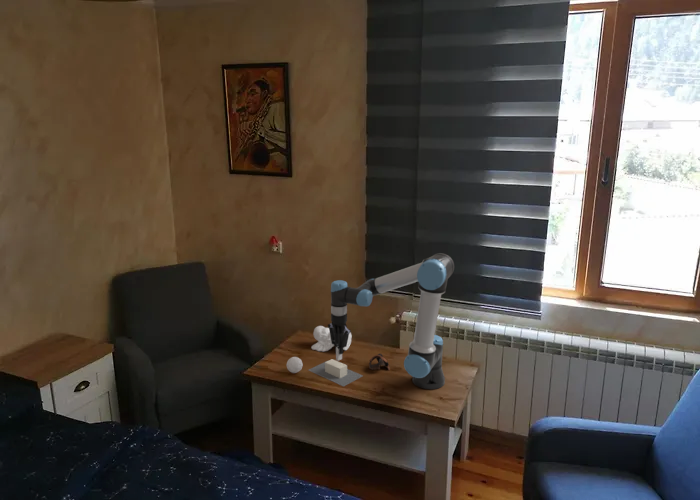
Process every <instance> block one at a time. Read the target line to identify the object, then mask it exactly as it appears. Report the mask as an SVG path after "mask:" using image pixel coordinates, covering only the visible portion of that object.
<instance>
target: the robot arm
mask: <svg viewBox="0 0 700 500" xmlns="http://www.w3.org/2000/svg"><path fill="white" fill-rule="evenodd" d="M454 270H455V263H454V260H453V259H452V257H451V256H450V255H448V254H446V253H441V252H439V253H435V254H433V255H432V256H430V257H427V258H424V259H423V260H422V262H420V263H419V262H418V263H417V264H413V265H411V266H408V267H405V268H402V269H400V270H396V271H394V272H391V273H388V274H384V275H382V276H379V277H376V278H370V279H368V280H366V281H365V282H364V283H362V284H361V285H359V286H358V287H350V286H348V282H347V281H345V280H341V279H339V280H334V281H332V282H331V284H330V313H331V314H330V321H331V323H329V324H327V328H329V331H330V336H331V342H332V344H334V350H335V351H334V352H335V360H336V361H338V362H340V360H343V354H344V350H343V348H344V347H346V346H347V341H348V337H349V333H352V331H351V329H349V328H347V327H348V326H347V322H348V314H347V313H348V304H350V305H355V306H359V307H369V306H370V305H371V304H372V302H373V297H374V296H378V295H380V294H384V293H386V292H390V291H393V290H396V289H398V288H399V289H400V288H401V287H404V286H405V287H406V286H408V285H412V284H415V283H416V282H418V289H419V291H420V297H419V302H418V303H419V304H418V310H417V316H416V322H415V329H414V330H415V331H414V335H413V340H412V341H410V342H409V344H408V350H407V351H408V352H407V355H406V356H405V358H404V360H403V367H404V369H405V371H406V372H407V374H408V375H410V376H411V377H412V383H413V384H414V386H417V387H418V388H420V389H426V390H437V389H440V388H442V387H444V385H445V383H446V377H445V375H444V370H443V367H442V366H443V349H444V347H443V346H444V340H443V338H442V337H441V336H439V335H437V334H436V329H437V323H438V317H439V310H440V305H441V298H442V295H443V294H445V293H446V290H447V285H448V279H449V278H450V277H451V276H452V275H453V273H454Z"/></svg>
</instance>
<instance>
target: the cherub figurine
mask: <svg viewBox="0 0 700 500" xmlns="http://www.w3.org/2000/svg"><path fill="white" fill-rule="evenodd" d="M312 334H313V335H312V336H313V338H314V339H315V340H316V341H317V342H316V343H314V344H312V345H311V348H310V349H312V350H313V351H314V350H315V351H317V352H323V353H324V352H328V351H329V350H331V349H332V348H333V347H335V345H334V344H332V342H331V336H330V331H329V328H328V327H325V326H323V325H318V326H316V327H315V328H314V329H313V333H312ZM352 336H353V335H352V332H350V333H349V337H348V341H347V346H346V347H344V348H343V351H347V350H348V349H349V348H350V345H351V344H352Z"/></svg>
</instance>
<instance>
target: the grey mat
mask: <svg viewBox="0 0 700 500" xmlns="http://www.w3.org/2000/svg"><path fill="white" fill-rule="evenodd" d="M327 361H328V360H326V361H324V362H322V363H320V364H317V365H316V366H314V367H312V368H309V369H308V371H309V372H311V373H314V374H316V375H317V376H320V377H322V378H324V379H326V380H328V381H330V382H333V383H335V384H338V385H339V386H341V387H345V386H347V385H349V384H352V383H353V382H355V381H356V380H359V379H360V378H362V377H364V375H362V374H360V373H358V372H356V371H353V370H352V369H348V368H347V375H346V376H344V377H342V378H338V377H336V376H334V375H331V374H329V373H327V372H325V362H327Z"/></svg>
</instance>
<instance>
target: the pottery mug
mask: <svg viewBox="0 0 700 500" xmlns="http://www.w3.org/2000/svg"><path fill="white" fill-rule="evenodd" d="M374 360H377V363H375V364H372V362H373V361H374ZM382 366H383V367H386V368H387V371H390V370H391V369H390V365H389V362H388V360H387V359H386V358H385V357H384V356H383V354H382V353H378V354H376V355H373V356H372V357H371V358H370V359H369V363H368V367H369V369H370V370H373V371H374V370H381V367H382Z"/></svg>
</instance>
